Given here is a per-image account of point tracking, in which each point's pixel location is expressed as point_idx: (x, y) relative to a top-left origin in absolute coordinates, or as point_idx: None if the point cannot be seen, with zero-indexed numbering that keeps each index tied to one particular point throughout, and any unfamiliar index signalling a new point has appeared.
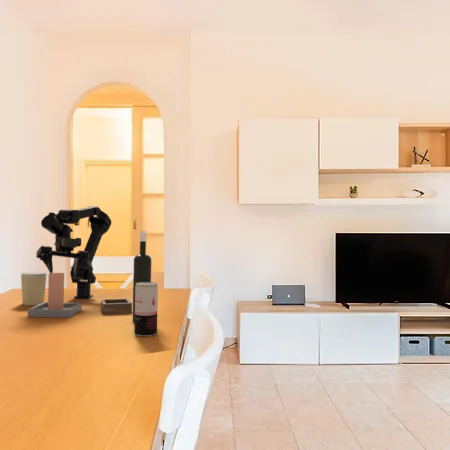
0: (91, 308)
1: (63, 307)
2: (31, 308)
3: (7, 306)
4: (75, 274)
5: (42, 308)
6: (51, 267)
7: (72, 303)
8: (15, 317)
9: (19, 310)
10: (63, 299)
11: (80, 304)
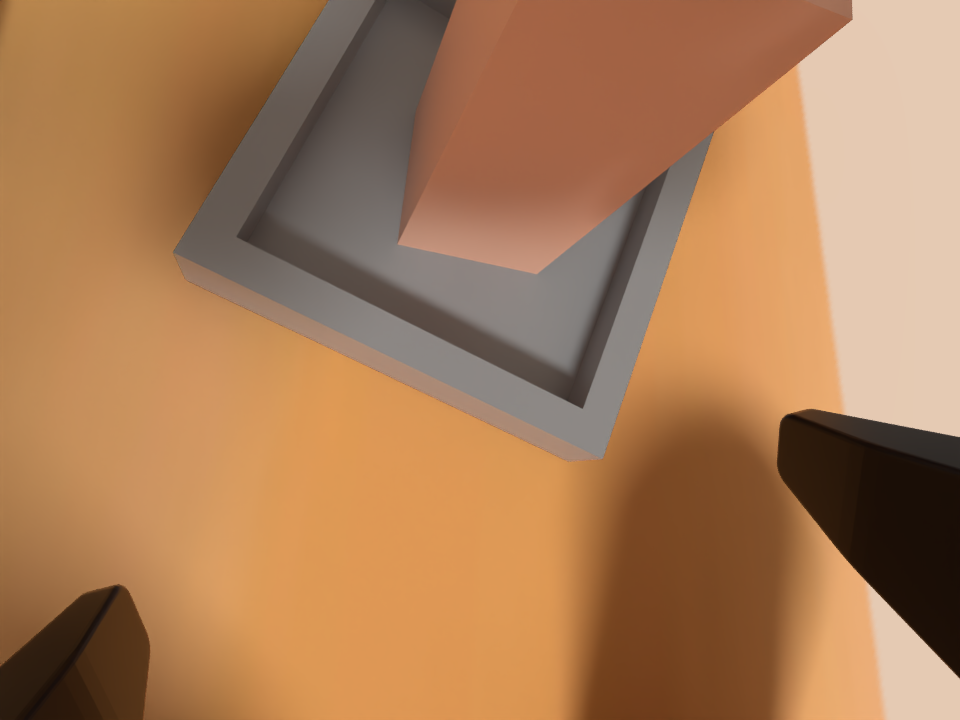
0: (38, 315)
1: (407, 191)
2: (694, 154)
3: (863, 712)
4: (121, 613)
5: (589, 337)
6: (943, 448)
7: (294, 267)
8: (753, 177)
9: (754, 461)
10: (440, 60)
11: (199, 217)
